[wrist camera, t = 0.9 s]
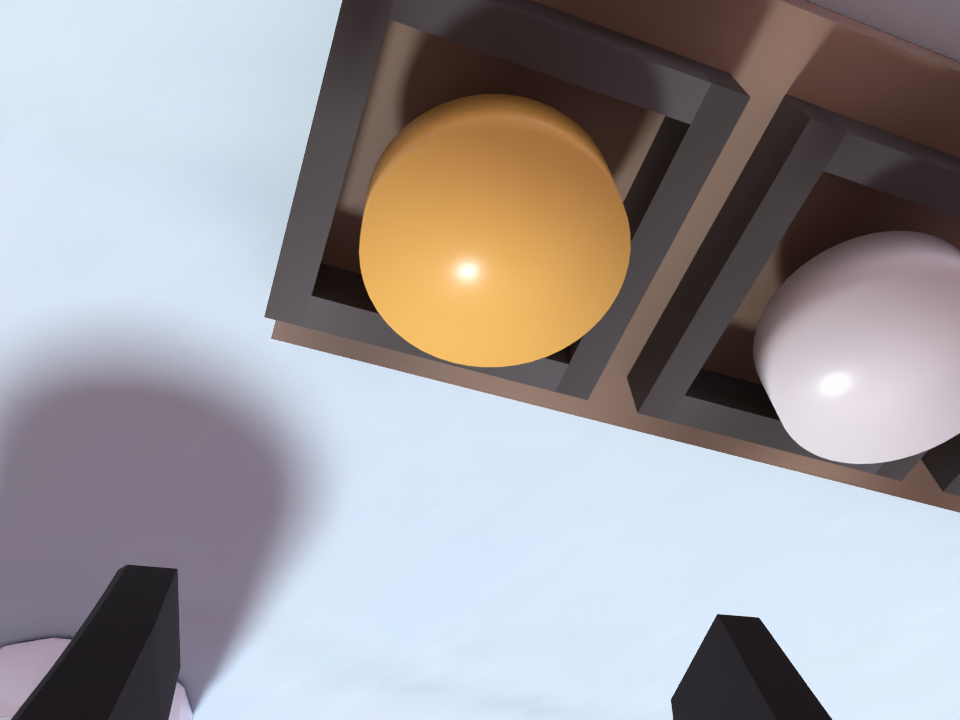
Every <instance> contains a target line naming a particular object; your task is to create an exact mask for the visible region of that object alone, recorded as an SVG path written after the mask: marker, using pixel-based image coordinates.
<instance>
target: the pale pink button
mask: <svg viewBox="0 0 960 720" xmlns="http://www.w3.org/2000/svg"><path fill="white" fill-rule="evenodd" d="M753 358H754V364H755V368H756V372H757V374H758V376H759V378H760V380H761V383H762V384H763V386H764V388H765V390H766V392H767V394H768V396H769V398H770V400H771V402H772V404H773V406H774V408H775V410H776V412H777V414H778V416H779V418H780V420H781V422H782V424H783V426H784V428H785V429H786V431H787V432H788V434H789V435H790V436H791V438H792V439H793V440H795V441H796V442H797V443H798V444H799V445H800V446H801V447H803V448H804V449H806V450H807V451H809V452H811V453H813V454H815V455H817V456H819V457H822V458H825V459H828V460H832V461H837V462H842V463H852V464H873V463H882V462H889V461H893V460H898V459H902V458H906V457H909V456H913V455H916V454H919V453H921V452H924V451H926V450H929V449H931V448H933V447H935V446H937V445H940V444H942V443H944V442H946V441H947V440H949V439H951V438H952V437H954V436H956V435H957V434H959V433H960V250H959V249H958V248H956V247H955V246H953V245H952V244H950V243H949V242H947V241H945V240H943V239H940V238H938V237H936V236H932V235H929V234H925V233H921V232H913V231H886V232H878V233H872V234H868V235H864V236H859V237H856V238H853V239H850V240H848V241H845V242H842V243H840V244H838V245H836V246H833V247H831V248H829V249H827V250H825V251H824V252H822V253H820V254H819V255H817V256H815V257H813V258H812V259H811V260H809V261H808V262H806V263H805V264H804V265H802V266H801V267H800V268H798V269H797V270H796V271H795V272H794V273H793V274H792V275H791V276H789V277H788V278H787V279H786V281H785V282H784V283H783V284H782V285H781V286H780V287H779V288H778V289H777V291H776V292H775V293H774V295H773V296H772V298H771V299H770V300H769V302H768V304H767V305H766V307H765V309H764V311H763V312H762V314H761V317H760V319H759V322H758V324H757V328H756V332H755V336H754V343H753Z"/></svg>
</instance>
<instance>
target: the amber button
mask: <svg viewBox="0 0 960 720" xmlns="http://www.w3.org/2000/svg"><path fill="white" fill-rule="evenodd" d="M630 250H631V244H630V229H629V223H628V217H627V214H626V211H625V208H624V205H623V202H622V200H621V197H620V195H619V192H618V190H617V187H616V185H615V182H614V180H613V177H612V175H611V172H610V170H609V168H608V165H607V163H606V161H605V159H604V157H603V155H602V153H601V151H600V150H599V148H598V147H597V145H596V144H595V143H594V141H593V140H592V138H591V137H590V136H589V135H588V134H587V133H586V132H585V131H584V130H583V129H582V128H581V127H580V126H579V125H578V124H577V123H575V122H574V121H573V120H572V119H570V118H569V117H568V116H566V115H565V114H563V113H561V112H560V111H558V110H556V109H555V108H553V107H551V106H548V105H546V104H543V103H541V102H539V101H536V100H532V99H528V98H525V97H521V96H514V95H506V94H481V95H473V96H466V97H463V98H459V99H455V100H451V101H448V102H446V103H444V104H441V105H439V106H436V107H434V108H432V109H430V110H428V111H427V112H425V113H423V114H421V115H420V116H418V117H417V118H415V119H414V120H413V121H412V122H410V123H409V124H408V125H406V126H405V127H404V128H403V129H402V130H401V131H400V132H399V133H398V134H397V135H396V136H395V137H394V138H393V139H392V140H391V142H390V143H389V144H388V146H387V147H386V148H385V150H384V151H383V153H382V154H381V156H380V158H379V160H378V162H377V163H376V165H375V168H374V170H373V173H372V176H371V178H370V181H369V185H368V190H367V194H366V200H365V207H364V214H363V220H362V227H361V234H360V246H359V257H360V268H361V273H362V277H363V281H364V284H365V287H366V290H367V292H368V295H369V297H370V299H371V301H372V302H373V304H374V306H375V308H376V310H377V311H378V312H379V314H380V315H381V316H382V318H383V319H384V320H385V322H386V323H387V324H388V325H389V326H390V327H391V328H392V329H393V330H394V331H395V332H396V333H397V334H398V335H400V336H401V337H402V338H403V339H405V340H406V341H407V342H409V343H410V344H412V345H413V346H415V347H417V348H418V349H420V350H422V351H424V352H426V353H428V354H430V355H432V356H435V357H437V358H440V359H443V360H446V361H449V362H452V363H457V364H462V365H467V366H476V367H505V366H513V365H519V364H524V363H528V362H532V361H535V360H538V359H541V358H544V357H547V356H549V355H552V354H554V353H556V352H558V351H560V350H562V349H564V348H566V347H567V346H569V345H570V344H572V343H574V342H575V341H577V340H578V339H579V338H581V337H582V336H583V335H585V334H586V333H587V332H588V331H590V330H591V329H592V328H593V327H594V326H595V325H596V324H597V323H598V322H599V321H600V320H601V318H602V317H603V316H604V315H605V313H606V312H607V311H608V310H609V308H610V307H611V305H612V303H613V302H614V300H615V299H616V297H617V295H618V293H619V291H620V289H621V286H622V284H623V282H624V279H625V276H626V272H627V269H628V265H629V258H630Z"/></svg>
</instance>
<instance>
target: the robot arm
mask: <svg viewBox="0 0 960 720" xmlns="http://www.w3.org/2000/svg"><path fill="white" fill-rule="evenodd" d="M179 670H180V639H179V606H178V573H177V569H172V568H160V567H148V566H137V565H126V566H124V567H123V568H121V569H119V570H118V571H117V573H116V574H115V576H114V578H113V579H112V581H111V583H110V584H109V586H108V587H107V589H106V591H105V592H104V594H103V595H102V597H101V598H100V600H99V601H98V603H97V604H96V606H95V607H94V609H93V610H92V612H91V613H90V615H89V616H88V618H87V619H86V620H85V622H84V623H83V625H82V626H81V628H80V629H79V630H78V632H77V633H76V635H75V636H74V637H73V639H72V640H71V642H70V643H69V644H68V646H67V647H66V648H65V650H64V651H63V652H62V654H61V655H60V657H59V658H58V659H57V661H56V662H55V663H54V665H53V666H52V667H51V669H50V670H49V671H48V673H47V674H46V675H45V676H44V678H43V679H42V680H41V682H40V683H39V684H38V685H37V687H36V688H35V689H34V690H33V692H32V693H31V694H30V696H29V697H28V698H27V699H26V701H25V702H24V703H23V705H22V706H21V707H20V708H19V710H18V711H17V712H16V713H15V715H14V716H13V717H12V719H11V720H169V715H170V711H171V706H172V702H173V697H174V693H175V688H176V684H177V679H178V674H179ZM671 703H672V712H673V720H832V719H831V717H830V716H829V715H828V713H827V712H826V710H825V709H824V708H823V706H822V705H821V704H820V702H819V701H818V699H817V698H816V697H815V695H814V694H813V692H812V691H811V690H810V688H809V687H808V685H807V684H806V683H805V681H804V680H803V678H802V677H801V676H800V674H799V673H798V671H797V670H796V669H795V667H794V666H793V664H792V663H791V662H790V660H789V659H788V657H787V656H786V655H785V653H784V652H783V650H782V649H781V648H780V646H779V645H778V643H777V642H776V641H775V639H774V638H773V636H772V635H771V634H770V632H769V631H768V629H767V628H766V627H765V625H764V624H763V623H762V621H761V620H760V619H759V618H756V617H744V616H732V615H720V614H717V616H716V618H715V620H714V621H713V623H712V625H711V627H710V629H709V631H708V633H707V634H706V636H705V638H704V640H703V642H702V644H701V645H700V647H699V649H698V651H697V653H696V655H695V656H694V658H693V660H692V662H691V664H690V666H689V668H688V669H687V671H686V673H685V675H684V677H683V679H682V680H681V682H680V684H679V686H678V688H677V690H676V691H675V693H674V695H673V697H672V699H671Z"/></svg>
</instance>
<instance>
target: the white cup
mask: <svg viewBox="0 0 960 720" xmlns="http://www.w3.org/2000/svg"><path fill="white" fill-rule="evenodd" d="M71 640H72V639H63V638H48V639H42V640H35V641H29V642H23V643H18V644H12V645H7V646H4V647H2V648H1V649H0V720H11V719H12V717H13V716H14V715H15V713H16V712H17V711H18V710H19V708H20V707H21V706H22V705H23V703H24V702H25V701H26V699H27V698H28V697H29V696H30V694H31V693H32V692H33V690H34V689H35V688H36V687H37V685H38V684H39V683H40V682H41V680H42V679H43V678H44V676H45V675H46V674H47V673H48V671H49V670H50V669H51V667H52V666H53V665H54V663H55V662H56V661H57V659H58V658H59V657H60V655H61V654H62V652H63V651H64V650H65V648H66V647H67V646H68V644H69V643H70V642H71ZM169 720H193V714H192V711H191V708H190V705H189V701H188V698H187V695H186V692H185V689H184V687H183V686H182V685H181V684H179V683H178V682H177V684H176V688H175V693H174V697H173V702H172V706H171V711H170V715H169Z"/></svg>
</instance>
